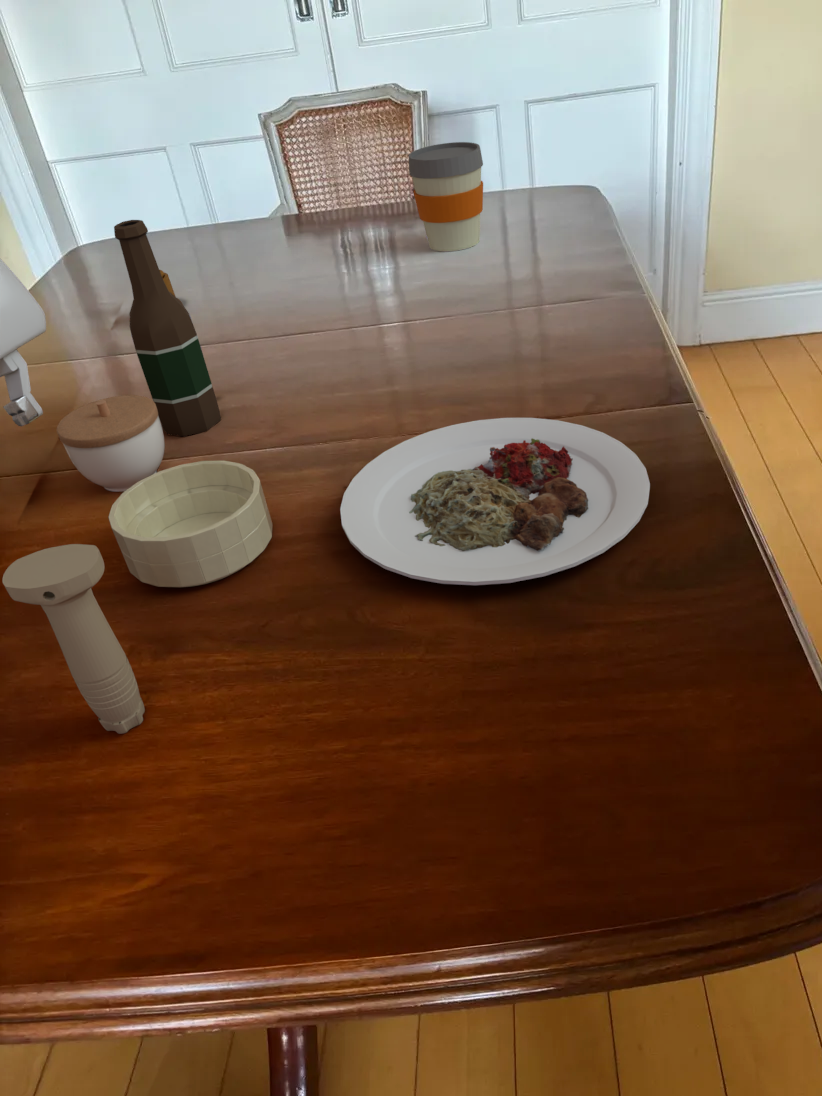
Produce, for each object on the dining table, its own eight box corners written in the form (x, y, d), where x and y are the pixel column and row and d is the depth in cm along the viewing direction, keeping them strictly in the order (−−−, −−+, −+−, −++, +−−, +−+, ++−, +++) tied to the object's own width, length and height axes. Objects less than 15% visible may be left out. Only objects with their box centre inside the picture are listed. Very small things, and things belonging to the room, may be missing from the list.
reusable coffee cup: (414, 240, 163) (401, 150, 154) (481, 228, 164) (473, 138, 155) (425, 259, 153) (412, 164, 144) (496, 246, 154) (488, 151, 145)
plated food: (309, 600, 79) (301, 570, 77) (376, 438, 103) (371, 411, 101) (656, 597, 74) (657, 564, 72) (644, 427, 97) (644, 398, 95)
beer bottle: (171, 411, 115) (106, 217, 101) (229, 406, 114) (172, 209, 100) (153, 440, 109) (81, 237, 95) (214, 435, 108) (151, 229, 94)
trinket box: (96, 514, 96) (63, 436, 91) (71, 477, 104) (39, 403, 98) (190, 478, 100) (164, 401, 95) (159, 445, 108) (133, 372, 102)
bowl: (119, 605, 82) (96, 552, 79) (141, 524, 94) (122, 474, 90) (272, 579, 83) (256, 525, 79) (276, 501, 94) (262, 450, 90)
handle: (89, 707, 72) (12, 554, 62) (169, 692, 72) (104, 537, 63) (79, 751, 68) (-6, 595, 59) (163, 735, 68) (93, 577, 59)
